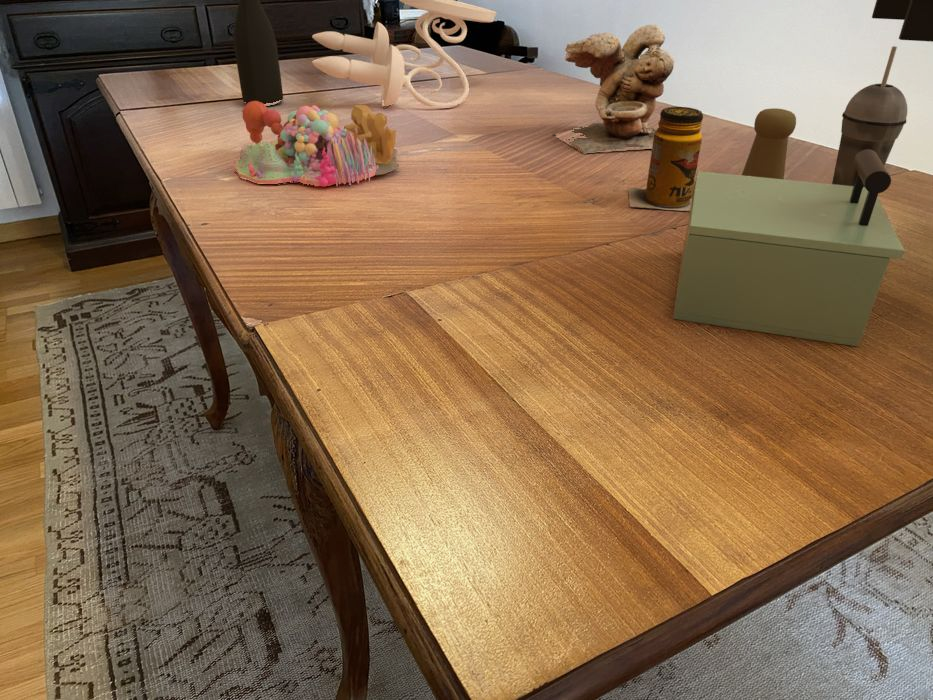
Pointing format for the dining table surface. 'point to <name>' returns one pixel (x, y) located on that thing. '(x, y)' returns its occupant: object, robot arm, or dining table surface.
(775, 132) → the brown knobbed peg
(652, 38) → the cherub figurine
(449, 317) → the dining table surface
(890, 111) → the beverage cup
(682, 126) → the condiment
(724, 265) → the bin
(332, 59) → the candelabra
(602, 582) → the dining table surface
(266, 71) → the wine bottle
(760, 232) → the bin lid
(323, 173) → the pastel sphere sculpture
